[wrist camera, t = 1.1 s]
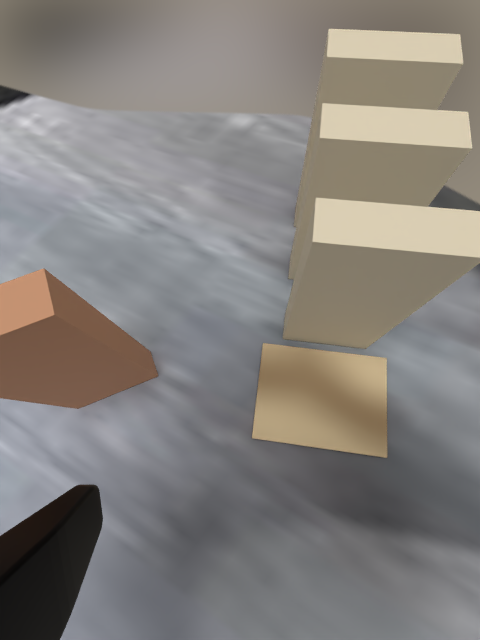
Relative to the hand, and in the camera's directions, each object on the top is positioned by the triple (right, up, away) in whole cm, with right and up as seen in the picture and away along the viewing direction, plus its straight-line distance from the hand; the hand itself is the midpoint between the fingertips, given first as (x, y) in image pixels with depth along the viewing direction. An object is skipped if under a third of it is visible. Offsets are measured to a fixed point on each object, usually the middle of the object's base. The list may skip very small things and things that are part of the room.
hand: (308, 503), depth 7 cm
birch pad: (+4, -1, +14) cm, 14 cm away
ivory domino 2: (+5, +7, +17) cm, 19 cm away
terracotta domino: (-10, 0, +15) cm, 18 cm away
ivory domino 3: (+4, +3, +15) cm, 16 cm away
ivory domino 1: (+6, +12, +18) cm, 22 cm away
